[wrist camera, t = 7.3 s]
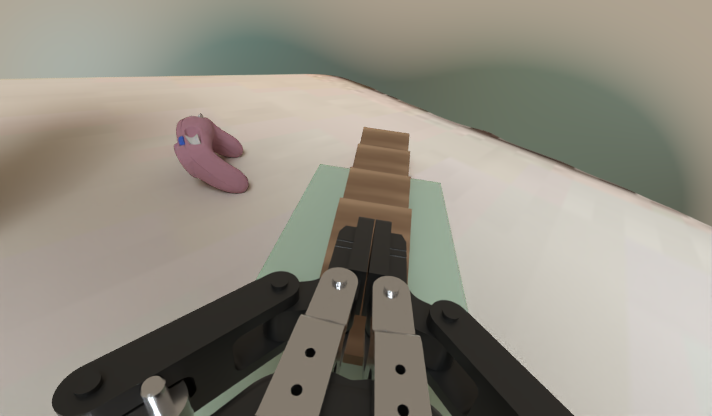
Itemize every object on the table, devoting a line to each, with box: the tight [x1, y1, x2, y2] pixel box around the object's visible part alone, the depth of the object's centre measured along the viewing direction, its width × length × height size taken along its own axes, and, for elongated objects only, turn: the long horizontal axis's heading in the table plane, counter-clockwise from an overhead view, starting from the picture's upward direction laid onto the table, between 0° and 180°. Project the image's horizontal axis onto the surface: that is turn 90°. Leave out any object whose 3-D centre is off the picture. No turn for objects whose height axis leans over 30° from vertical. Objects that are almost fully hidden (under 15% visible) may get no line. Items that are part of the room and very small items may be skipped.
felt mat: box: [194, 164, 468, 416], centre depth 25 cm, size 30×14×1 cm, turn 173°
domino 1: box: [360, 127, 409, 151], centre depth 33 cm, size 2×5×10 cm
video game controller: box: [174, 113, 249, 193], centre depth 32 cm, size 10×5×7 cm, turn 20°
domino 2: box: [353, 144, 410, 176], centre depth 28 cm, size 2×5×10 cm
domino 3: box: [343, 167, 411, 208], centre depth 24 cm, size 2×5×10 cm
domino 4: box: [320, 197, 412, 366], centre depth 20 cm, size 2×5×10 cm
